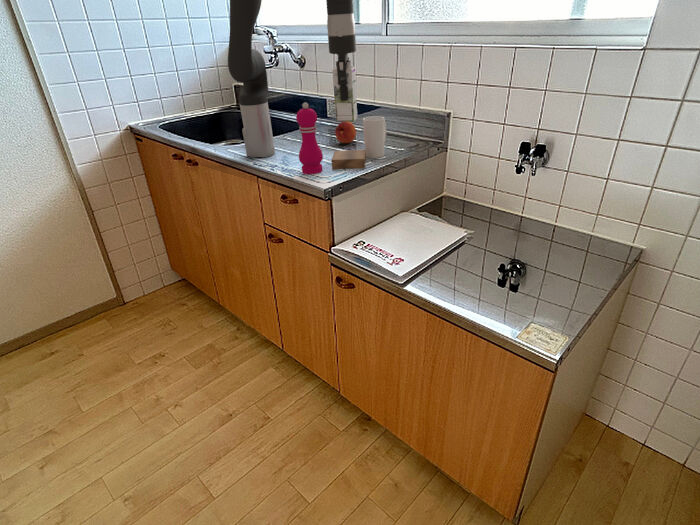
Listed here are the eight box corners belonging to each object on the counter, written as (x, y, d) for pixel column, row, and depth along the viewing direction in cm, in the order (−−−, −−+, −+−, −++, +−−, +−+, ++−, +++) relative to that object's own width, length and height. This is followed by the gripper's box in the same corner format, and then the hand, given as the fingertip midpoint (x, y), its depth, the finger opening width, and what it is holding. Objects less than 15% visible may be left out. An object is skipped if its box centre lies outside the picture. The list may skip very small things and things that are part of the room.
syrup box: (357, 117, 129) (355, 65, 122) (354, 122, 124) (351, 67, 117) (339, 118, 130) (336, 66, 123) (335, 122, 125) (331, 68, 118)
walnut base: (332, 169, 130) (331, 159, 129) (335, 160, 139) (334, 150, 137) (364, 168, 129) (364, 158, 128) (365, 158, 138) (365, 149, 136)
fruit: (331, 143, 158) (329, 121, 154) (348, 139, 162) (347, 117, 158) (343, 147, 152) (342, 124, 148) (361, 142, 156) (360, 120, 152)
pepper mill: (324, 167, 133) (318, 99, 123) (323, 174, 127) (317, 103, 117) (301, 168, 133) (293, 101, 123) (299, 176, 127) (291, 105, 117)
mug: (376, 160, 136) (375, 121, 130) (360, 157, 140) (358, 119, 134) (394, 152, 143) (394, 115, 137) (378, 149, 147) (377, 113, 141)
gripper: (330, 33, 123) (335, 95, 131) (324, 35, 110) (330, 103, 119) (356, 31, 122) (359, 94, 130) (353, 33, 110) (356, 102, 118)
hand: (345, 98), depth 124 cm, fingers closed on syrup box, 6 cm apart
